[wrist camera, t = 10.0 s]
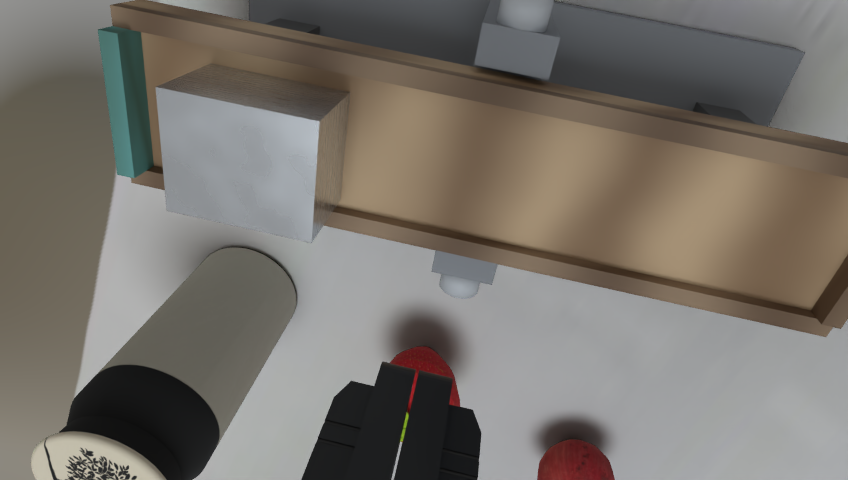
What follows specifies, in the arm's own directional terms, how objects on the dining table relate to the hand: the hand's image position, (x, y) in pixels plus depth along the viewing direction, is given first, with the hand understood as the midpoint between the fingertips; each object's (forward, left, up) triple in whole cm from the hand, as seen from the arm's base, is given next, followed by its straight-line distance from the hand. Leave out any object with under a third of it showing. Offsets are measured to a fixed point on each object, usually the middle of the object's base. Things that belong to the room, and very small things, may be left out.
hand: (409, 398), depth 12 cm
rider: (+6, -5, -14) cm, 16 cm away
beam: (-1, +1, -15) cm, 15 cm away
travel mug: (+23, +3, -25) cm, 35 cm away
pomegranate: (+9, +29, -25) cm, 40 cm away
